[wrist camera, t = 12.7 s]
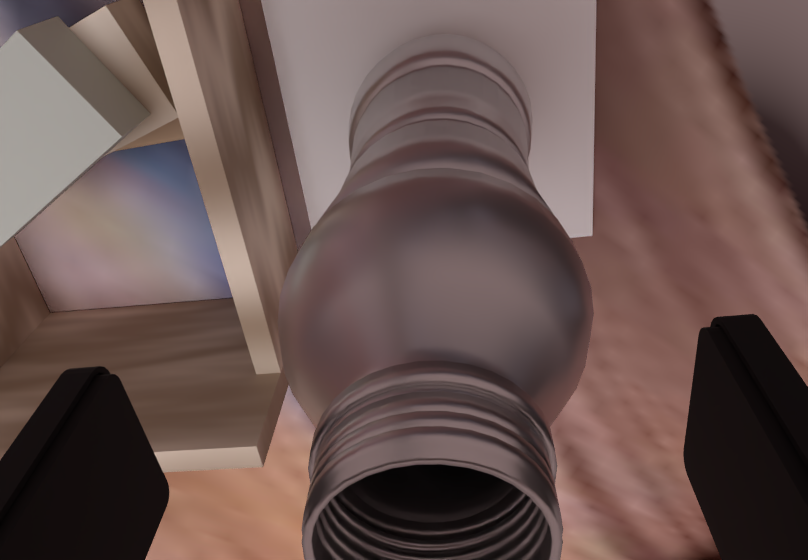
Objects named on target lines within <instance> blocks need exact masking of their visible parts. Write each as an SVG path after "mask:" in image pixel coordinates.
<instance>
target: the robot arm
mask: <svg viewBox="0 0 808 560" xmlns="http://www.w3.org/2000/svg"><path fill="white" fill-rule="evenodd" d="M684 464H685V468H686V472H687V475H688V478H689V480H690V483H691V485H692V488H693V490H694V493H695V495H696V497H697V500H698V502H699V505H700V507H701V510H702V512H703V515H704V517H705V520H706V522H707V525H708V527H709V529H710V532H711V534H712V537H713V539H714V542H715V544H716V547H717V549H718V552H719V554H720V557H721V559H722V560H808V387H807V385H806V384H805V382H804V381H803V379H802V378H801V377H800V375H799V374H798V372H797V371H796V369H795V368H794V367H793V365H792V364H791V362H790V361H789V359H788V358H787V356H786V355H785V354H784V352H783V351H782V349H781V348H780V346H779V345H778V344H777V342H776V341H775V339H774V338H773V336H772V335H771V334H770V332H769V331H768V329H767V328H766V326H765V325H764V323H763V322H762V321H761V319H760V318H759V317H758V316H757V315H754V314H748V315H736V316H723V317H716V318H714V319H713V320H712V322H711V326H710V327H705V328H701V330H700V332H699V337H698V344H697V352H696V360H695V367H694V375H693V383H692V390H691V398H690V406H689V413H688V421H687V429H686V436H685V444H684ZM168 499H169V486H168V482H167V480H166V478H165V475H164V473H163V471H162V469H161V467H160V464H159V462H158V460H157V458H156V456H155V454H154V451H153V449H152V447H151V445H150V443H149V441H148V438H147V436H146V434H145V432H144V430H143V428H142V425H141V423H140V421H139V419H138V417H137V415H136V412H135V410H134V408H133V406H132V404H131V402H130V399H129V397H128V395H127V393H126V391H125V389H124V386H123V384H122V382H121V380H120V378H119V377H118V376H117V375H116V374H110V372H109V370H108V369H106V368H105V367H102V366H95V367H83V368H70V369H67V370H65V371H64V372H63V373H62V374H61V375H60V376H59V378H58V379H57V381H56V382H55V384H54V385H53V386H52V388H51V389H50V391H49V392H48V393H47V395H46V396H45V398H44V399H43V400H42V402H41V403H40V405H39V406H38V407H37V409H36V410H35V412H34V413H33V415H32V416H31V417H30V419H29V420H28V422H27V423H26V424H25V426H24V427H23V429H22V430H21V431H20V433H19V434H18V436H17V437H16V439H15V440H14V441H13V443H12V444H11V446H10V447H9V448H8V450H7V451H6V453H5V454H4V455H3V457H2V458H1V460H0V560H145V558H146V556H147V553H148V551H149V548H150V546H151V544H152V541H153V539H154V536H155V534H156V531H157V529H158V526H159V524H160V521H161V519H162V516H163V514H164V512H165V509H166V507H167V504H168Z"/></svg>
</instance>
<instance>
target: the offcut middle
mask: <svg viewBox="0 0 808 560" xmlns="http://www.w3.org/2000/svg"><path fill="white" fill-rule="evenodd" d="M69 29H70V30H71V31H72V32H73V33H74V34H75V35H76V36H77V37H78V38H79V39H80V40H81V41H82V42H83V43H84V44H85V45H86V46H87V48H88V49H89V50H90V51H91V52H92V53H93V54H94V55H95V56H96V57H97V58H98V59H99V60H100V61H101V62H102V63H103V64H104V65H105V66H106V67H107V68H108V70H109V71H110V72H111V73H112V74H113V75H114V76H115V77H116V78H117V79H118V80H119V81H120V82H121V83H122V84H123V85H124V86H125V87H126V88H127V89H128V91H129V92H130V93H131V94H132V95H133V96H134V97H135V98H136V99H137V100H138V101H139V102H140V103H141V104H142V105H143V106H144V107H145V108H146V109H147V110H148V111H149V113H150V115H149V116H148V117H147V118H146V119H145V120H144V121H142V122H141V123H140V124H139V125H138V126H137V127H136V128H135V129H134V130H132V131H131V132H130V133H129V134H128V135H127V136H126V137H125V138H124V139H122V140H121V141H120V142H119V143H118V144H117V145H116V146H115V147H114V148H112V149H111V150H110V151H109V152H108V153H107V154H106V155H108V154H110V153H112V152H113V151H115V150H117V149H119V148H121V147H123V146H125V145H127V144H129V143H131V142H132V141H134V140H136V139H138V138H140V137H142V136H144V135H146V134H148V133H150V132H152V131H153V130H155V129H157V128H159V127H161V126H163V125H165V124H167V123H169V122H171V121H173V120H174V119H176V118H178V115H177V112H176V108H175V105H174V102H173V98H172V95H171V92H170V88H169V85H168V82H167V79H166V75H165V72H164V69H163V65H162V62H161V59H160V56H159V52H158V49H157V46H156V42H155V39H154V36H153V32H152V29H151V26H150V23H149V19H148V16H147V13H146V10H145V9H144V7H143V5H142V4H141V2H140V1H139V0H119V1H117V2H114V3H111V4H109V5H106V6H104V7H102V8H101V9H99V10H97V11H96V12H94V13H92V14H91V15H89V16H87V17H86V18H84V19H82V20H81V21H79V22H78V23H76V24H74V25H73V26H71V27H69ZM106 155H105V156H106Z"/></svg>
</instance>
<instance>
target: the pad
mask: <svg viewBox="0 0 808 560" xmlns="http://www.w3.org/2000/svg"><path fill="white" fill-rule="evenodd" d="M261 3H262V7H263V12H264V17H265V21H266V26H267V30H268V35H269V39H270V44H271V48H272V53H273V57H274V62H275V67H276V71H277V76H278V80H279V85H280V89H281V94H282V98H283V103H284V107H285V112H286V117H287V121H288V126H289V130H290V135H291V139H292V144H293V148H294V153H295V158H296V162H297V167H298V171H299V176H300V180H301V185H302V189H303V194H304V198H305V203H306V208H307V212H308V217H309V221H310V226H311V230H312V228H313V227H314V226H315V225H316V224H317V222H318V220H319V219H320V218H321V216H322V215H323V214H324V212H325V211H326V210H327V208H328V207H329V206H330V204H331V203H332V202H333V200H334V199H335V198H336V196H337V195H338V194H339V192H340V190H341V188H342V186H343V184H344V182H345V179H346V177H347V176H348V174H349V171H350V164H351V161H350V155H349V141H348V138H349V121H350V113H351V108H352V105H353V102H354V99H355V96H356V93H357V91H358V89H359V88H360V86H361V84H362V83H363V81H364V79H365V77H366V76H367V75H368V74H369V72H370V71H371V70H372V69H373V68H374V67H375V66H376V64H377V63H378V62H379V61H380V60H382V59H383V58H384V57H386V56H387V55H388V54H390V53H391V52H392V51H393V50H395V49H397V48H398V47H400V46H402V45H404V44H406V43H408V42H410V41H412V40H414V39H417V38H421V37H425V36H429V35H434V34H455V35H461V36H467V37H469V38H472V39H474V40H477V41H480V42H482V43H484V44H486V45H487V46H489V47H490V48H492V49H493V50H495V51H496V52H498V53H499V54H501V55H502V56H503V57H504V58H505V59H506V60H507V61H508V62H509V63H510V64H511V65H512V66H513V67H514V68H515V69H516V71H517V73H518V74H519V76H520V77H521V79H522V81H523V82H524V84H525V87H526V90H527V93H528V95H529V98H530V101H531V109H532V117H533V123H532V138H531V150H530V153H529V157H528V164H529V171H530V174H531V176H532V179H533V181H534V184H535V186H536V189H537V191H538V192H539V194H540V195H541V197H542V198H543V199H544V201H545V202H546V204H547V205H548V207H549V208H550V209H551V211H552V212H553V214H554V215H555V217H556V218H557V219H558V220H559V222H560V223H561V225H562V226H563V228H564V229H565V231H566V233H567V234H568V236H569V237H570V238H574V237H585V236H592V230H593V171H594V113H595V54H596V0H261Z"/></svg>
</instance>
